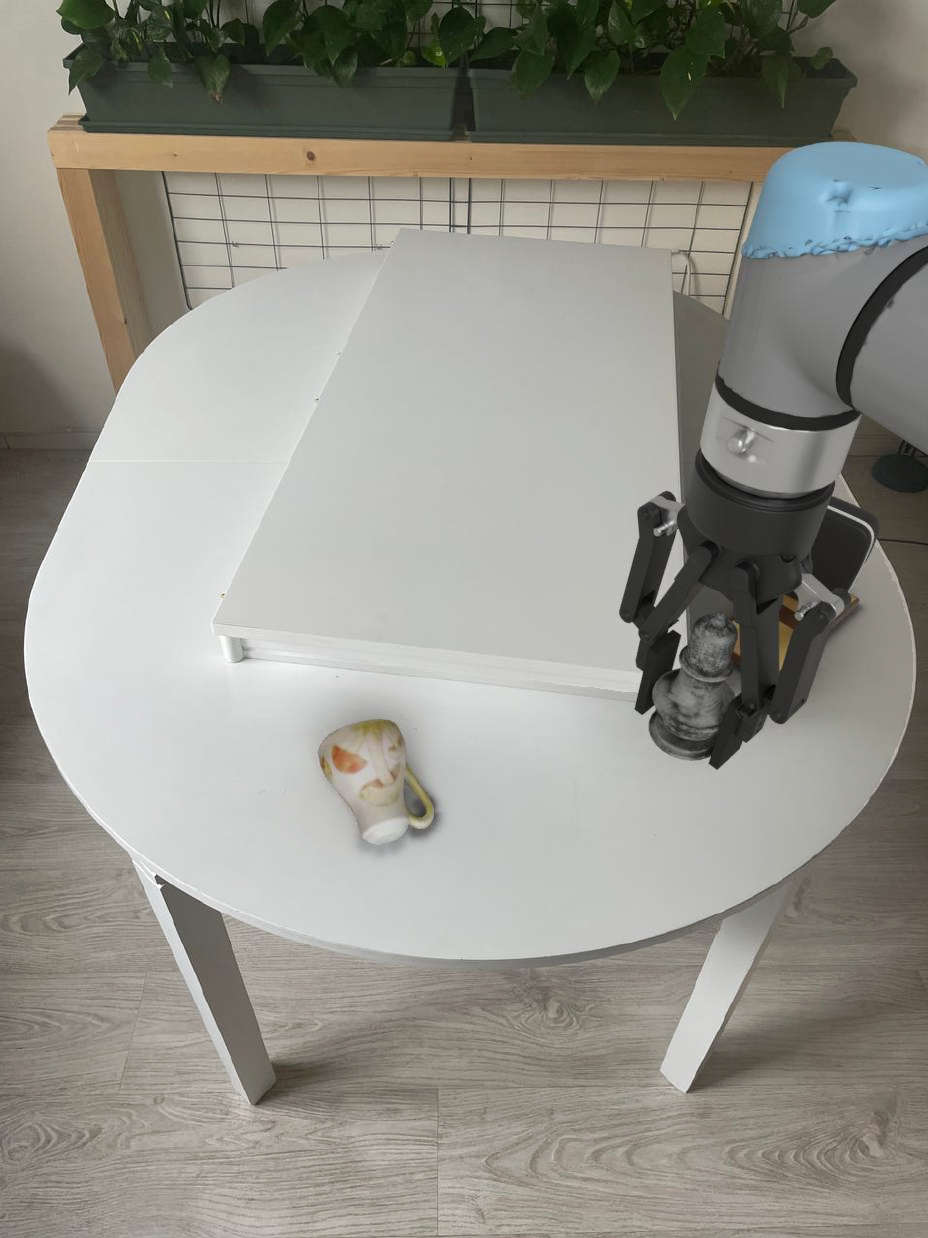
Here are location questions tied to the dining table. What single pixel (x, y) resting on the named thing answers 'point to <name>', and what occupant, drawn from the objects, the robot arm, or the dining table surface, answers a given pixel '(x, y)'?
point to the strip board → (789, 626)
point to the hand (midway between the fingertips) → (686, 728)
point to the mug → (373, 778)
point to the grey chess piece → (695, 691)
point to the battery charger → (842, 545)
